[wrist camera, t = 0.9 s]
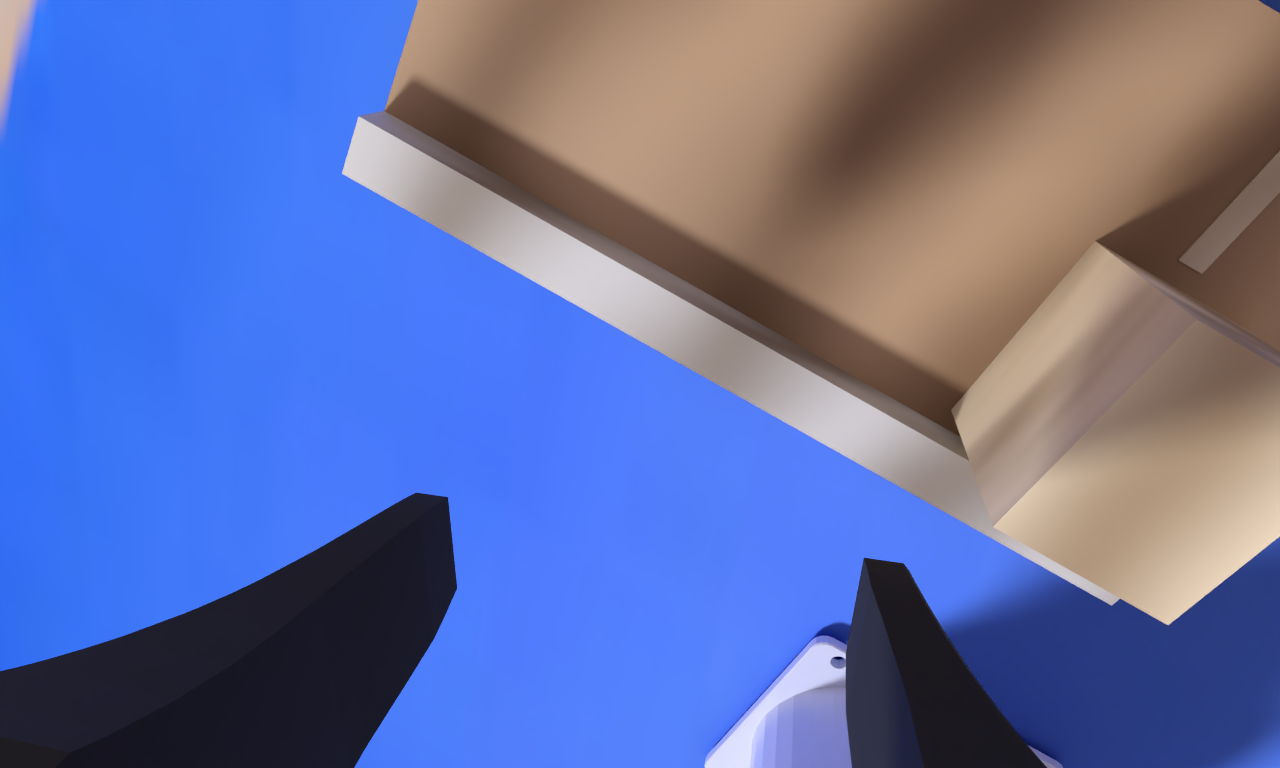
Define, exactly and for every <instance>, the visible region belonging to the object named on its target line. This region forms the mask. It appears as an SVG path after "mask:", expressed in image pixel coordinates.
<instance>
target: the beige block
mask: <svg viewBox="0 0 1280 768" xmlns="http://www.w3.org/2000/svg"><path fill="white" fill-rule="evenodd" d="M951 411H952V414H953V417H954V419H955V422H956V425H957V428H958V431H959V433H960V436H961V439H962V442H963V445H964V447H965V450H966V453H967V456H968V459H969V461H970V464H971V467H972V470H973V473H974V475H975V478H976V481H977V484H978V487H979V489H980V492H981V495H982V498H983V501H984V503H985V506H986V509H987V512H988V515H989V517H990V520H991V523H992V526H993V527H994V528H996V529H998V530H999V531H1001V532H1003V533H1005V534H1006V535H1008V536H1010V537H1012V538H1014V539H1015V540H1017V541H1019V542H1021V543H1022V544H1024V545H1026V546H1028V547H1030V548H1031V549H1033V550H1035V551H1037V552H1038V553H1040V554H1042V555H1044V556H1046V557H1047V558H1049V559H1051V560H1053V561H1054V562H1056V563H1058V564H1060V565H1062V566H1063V567H1065V568H1067V569H1069V570H1070V571H1072V572H1074V573H1076V574H1078V575H1079V576H1081V577H1083V578H1085V579H1086V580H1088V581H1090V582H1092V583H1094V584H1095V585H1097V586H1099V587H1101V588H1102V589H1104V590H1106V591H1108V592H1110V593H1111V594H1113V595H1115V596H1117V597H1118V598H1120V599H1122V600H1124V601H1126V602H1127V603H1129V604H1131V605H1133V606H1135V607H1136V608H1138V609H1140V610H1142V611H1143V612H1145V613H1147V614H1149V615H1151V616H1152V617H1154V618H1156V619H1158V620H1159V621H1161V622H1163V623H1165V624H1167V625H1169V624H1170V623H1172V622H1173V621H1174V620H1175V619H1177V618H1178V617H1179V616H1180V615H1182V614H1183V613H1184V612H1185V611H1187V610H1188V609H1189V608H1190V607H1192V606H1193V605H1194V604H1195V603H1197V602H1198V601H1199V600H1201V599H1202V598H1203V597H1204V596H1206V595H1207V594H1208V593H1209V592H1211V591H1212V590H1213V589H1214V588H1216V587H1217V586H1218V585H1219V584H1221V583H1222V582H1223V581H1224V580H1226V579H1227V578H1228V577H1229V576H1231V575H1232V574H1233V573H1234V572H1236V571H1237V570H1238V569H1239V568H1241V567H1242V566H1243V565H1244V564H1246V563H1247V562H1248V561H1249V560H1251V559H1252V558H1253V557H1254V556H1256V555H1257V554H1258V553H1260V552H1261V551H1262V550H1263V549H1265V548H1266V547H1267V546H1268V545H1270V544H1271V543H1272V542H1273V541H1275V540H1276V539H1277V538H1278V537H1280V352H1279V351H1278V350H1276V349H1275V348H1273V347H1272V346H1270V345H1269V344H1268V343H1266V342H1265V341H1263V340H1262V339H1261V338H1259V337H1258V336H1256V335H1255V334H1254V333H1252V332H1251V331H1249V330H1248V329H1246V328H1244V327H1243V326H1241V325H1239V324H1238V323H1236V322H1234V321H1232V320H1231V319H1229V318H1227V317H1225V316H1224V315H1222V314H1220V313H1219V312H1217V311H1215V310H1213V309H1212V308H1210V307H1208V306H1207V305H1205V304H1203V303H1201V302H1200V301H1198V300H1196V299H1194V298H1193V297H1191V296H1189V295H1188V294H1186V293H1184V292H1182V291H1181V290H1179V289H1177V288H1176V287H1174V286H1172V285H1170V284H1169V283H1167V282H1165V281H1163V280H1162V279H1160V278H1158V277H1157V276H1155V275H1153V274H1151V273H1150V272H1148V271H1146V270H1144V269H1143V268H1141V267H1139V266H1138V265H1136V264H1134V263H1132V262H1131V261H1129V260H1127V259H1126V258H1124V257H1122V256H1120V255H1119V254H1117V253H1115V252H1113V251H1112V250H1110V249H1108V248H1107V247H1105V246H1103V245H1101V244H1100V243H1098V242H1096V241H1095V242H1094V243H1093V244H1092V245H1091V247H1090V248H1089V249H1088V250H1087V251H1086V252H1085V254H1084V255H1083V256H1082V257H1081V258H1080V259H1079V261H1078V262H1077V263H1076V264H1075V265H1074V266H1073V268H1072V269H1071V270H1070V271H1069V272H1068V274H1067V275H1066V276H1065V277H1064V278H1063V279H1062V281H1061V282H1060V283H1059V284H1058V285H1057V286H1056V288H1055V289H1054V290H1053V291H1052V292H1051V293H1050V295H1049V296H1048V297H1047V298H1046V299H1045V300H1044V302H1043V303H1042V304H1041V305H1040V306H1039V308H1038V309H1037V310H1036V311H1035V312H1034V313H1033V315H1032V316H1031V317H1030V318H1029V319H1028V320H1027V322H1026V323H1025V324H1024V325H1023V326H1022V327H1021V329H1020V330H1019V331H1018V332H1017V333H1016V334H1015V336H1014V337H1013V338H1012V339H1011V340H1010V342H1009V343H1008V344H1007V345H1006V346H1005V347H1004V349H1003V350H1002V351H1001V352H1000V353H999V354H998V356H997V357H996V358H995V359H994V360H993V361H992V363H991V364H990V365H989V366H988V367H987V368H986V370H985V371H984V372H983V373H982V374H981V376H980V377H979V378H978V379H977V380H976V381H975V383H974V384H973V385H972V386H971V387H970V388H969V390H968V391H967V392H966V393H965V394H964V395H963V397H962V398H961V399H960V400H959V401H958V402H957V404H956V405H955V406H954V407H953V408H952V409H951Z"/></svg>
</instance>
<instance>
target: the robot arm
mask: <svg viewBox="0 0 1280 768" xmlns="http://www.w3.org/2000/svg"><path fill="white" fill-rule="evenodd" d="M456 589H457V583H456V573H455V563H454V553H453V544H452V534H451V524H450V514H449V504H448V497H442V496H435V495H428V494H421V493H415V494H413V495H411V496H409V497H407V498H405V499H403V500H401V501H400V502H398V503H396V504H394V505H393V506H391V507H389V508H387V509H386V510H384V511H382V512H380V513H379V514H377V515H375V516H374V517H372V518H370V519H369V520H367V521H365V522H364V523H362V524H360V525H358V526H357V527H355V528H353V529H352V530H350V531H348V532H346V533H345V534H343V535H341V536H340V537H338V538H336V539H334V540H333V541H331V542H329V543H327V544H326V545H324V546H322V547H321V548H319V549H317V550H315V551H313V552H312V553H310V554H308V555H306V556H304V557H302V558H300V559H298V560H297V561H295V562H293V563H291V564H289V565H287V566H285V567H283V568H281V569H280V570H278V571H276V572H274V573H272V574H270V575H268V576H266V577H264V578H263V579H261V580H259V581H257V582H254V583H252V584H250V585H248V586H246V587H244V588H242V589H240V590H238V591H236V592H233V593H231V594H229V595H227V596H225V597H222V598H220V599H218V600H215V601H213V602H211V603H208V604H206V605H204V606H202V607H199V608H197V609H194V610H192V611H190V612H187V613H185V614H182V615H179V616H177V617H174V618H171V619H168V620H166V621H163V622H160V623H158V624H155V625H152V626H150V627H147V628H144V629H141V630H139V631H136V632H133V633H131V634H128V635H125V636H122V637H119V638H116V639H113V640H110V641H107V642H104V643H101V644H98V645H94V646H91V647H88V648H85V649H82V650H78V651H75V652H71V653H68V654H65V655H61V656H58V657H54V658H51V659H47V660H44V661H40V662H36V663H32V664H29V665H25V666H21V667H17V668H13V669H8V670H4V671H0V768H354V767H355V765H356V763H357V762H358V760H359V758H360V757H361V755H362V753H363V751H364V750H365V748H366V746H367V745H368V743H369V741H370V740H371V738H372V737H373V735H374V733H375V732H376V730H377V729H378V727H379V726H380V724H381V722H382V721H383V719H384V718H385V716H386V715H387V713H388V711H389V710H390V708H391V707H392V705H393V703H394V702H395V700H396V699H397V697H398V696H399V694H400V692H401V691H402V689H403V688H404V686H405V685H406V683H407V681H408V680H409V678H410V677H411V675H412V673H413V672H414V670H415V669H416V667H417V665H418V664H419V662H420V660H421V659H422V657H423V656H424V654H425V652H426V651H427V649H428V648H429V646H430V644H431V643H432V641H433V639H434V637H435V635H436V633H437V631H438V629H439V627H440V625H441V623H442V621H443V619H444V616H445V614H446V612H447V610H448V607H449V605H450V603H451V600H452V598H453V596H454V594H455V591H456ZM837 656H840V657H843V659H840V660H837V659H834V658H833V657H837ZM705 768H1063V766H1062V765H1061V764H1060V763H1059V762H1058V761H1056V760H1054V759H1052V758H1050V757H1049V756H1047V755H1045V754H1043V753H1041V752H1040V751H1038V750H1036V749H1034V748H1032V747H1030V746H1029V745H1027V744H1026V743H1025V742H1024V740H1023V739H1022V738H1021V737H1020V735H1019V734H1018V733H1017V732H1016V731H1015V729H1014V728H1013V727H1012V726H1011V724H1010V723H1009V722H1008V721H1007V719H1006V718H1005V717H1004V716H1003V714H1002V713H1001V712H1000V710H999V709H998V708H997V706H996V705H995V704H994V702H993V701H992V700H991V698H990V697H989V696H988V694H987V693H986V692H985V690H984V689H983V688H982V686H981V685H980V684H979V682H978V681H977V679H976V678H975V677H974V675H973V674H972V672H971V671H970V669H969V668H968V666H967V665H966V663H965V662H964V660H963V659H962V657H961V656H960V655H959V653H958V652H957V650H956V649H955V647H954V646H953V644H952V643H951V641H950V640H949V638H948V636H947V635H946V633H945V632H944V630H943V629H942V627H941V625H940V624H939V622H938V620H937V619H936V617H935V615H934V614H933V612H932V611H931V609H930V607H929V606H928V604H927V602H926V600H925V599H924V597H923V595H922V593H921V592H920V590H919V588H918V586H917V584H916V583H915V581H914V579H913V577H912V575H911V574H910V572H909V570H908V569H907V568H906V566H905V565H904V564H903V563H896V562H889V561H882V560H875V559H868V558H864V561H863V566H862V571H861V576H860V581H859V587H858V592H857V597H856V602H855V608H854V613H853V618H852V623H851V628H850V634H849V639H848V644H847V645H845V644H844V643H842V642H840V641H838V640H836V639H835V638H832V637H830V636H818V637H815V638H814V639H813V640H811V642H810V643H809V644H808V645H807V646H806V647H805V648H804V649H803V650H802V651H801V653H800V654H799V655H798V656H797V657H796V658H795V659H794V660H793V661H792V662H791V663H790V665H789V666H788V667H787V668H786V669H785V670H784V671H783V672H782V673H781V674H780V676H779V677H778V678H777V679H776V680H775V681H774V682H773V683H772V684H771V685H770V687H769V688H768V689H767V690H766V691H765V692H764V693H763V694H762V695H761V696H760V697H759V699H758V700H757V701H756V702H755V703H754V704H753V705H752V706H751V707H750V708H749V710H748V711H747V712H746V713H745V714H744V715H743V716H742V717H741V718H740V719H739V721H738V722H737V723H736V724H735V725H734V726H733V727H732V728H731V729H730V730H729V732H728V733H727V734H726V735H725V736H724V737H723V738H722V739H721V740H720V741H719V742H718V744H717V745H716V746H715V747H714V748H713V749H712V750H711V751H710V752H709V753H708V755H707V756H706V760H705Z"/></svg>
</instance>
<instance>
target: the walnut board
mask: <svg viewBox="0 0 1280 768" xmlns="http://www.w3.org/2000/svg"><path fill="white" fill-rule="evenodd" d="M342 174H344V175H345V176H347V177H349V178H351V179H353V180H354V181H356V182H358V183H360V184H361V185H363V186H365V187H367V188H369V189H370V190H372V191H374V192H376V193H377V194H379V195H381V196H383V197H385V198H386V199H388V200H390V201H392V202H393V203H395V204H397V205H399V206H401V207H402V208H404V209H406V210H408V211H410V212H411V213H413V214H415V215H417V216H418V217H420V218H422V219H424V220H426V221H427V222H429V223H431V224H433V225H434V226H436V227H438V228H440V229H442V230H443V231H445V232H447V233H449V234H450V235H452V236H454V237H456V238H458V239H459V240H461V241H463V242H465V243H467V244H468V245H470V246H472V247H474V248H475V249H477V250H479V251H481V252H483V253H484V254H486V255H488V256H490V257H491V258H493V259H495V260H497V261H499V262H500V263H502V264H504V265H506V266H507V267H509V268H511V269H513V270H515V271H516V272H518V273H520V274H522V275H524V276H525V277H527V278H529V279H531V280H532V281H534V282H536V283H538V284H540V285H541V286H543V287H545V288H547V289H548V290H550V291H552V292H554V293H556V294H557V295H559V296H561V297H563V298H564V299H566V300H568V301H570V302H572V303H573V304H575V305H577V306H579V307H581V308H582V309H584V310H586V311H588V312H589V313H591V314H593V315H595V316H597V317H598V318H600V319H602V320H604V321H605V322H607V323H609V324H611V325H613V326H614V327H616V328H618V329H620V330H621V331H623V332H625V333H627V334H629V335H630V336H632V337H634V338H636V339H638V340H639V341H641V342H643V343H645V344H646V345H648V346H650V347H652V348H654V349H655V350H657V351H659V352H661V353H662V354H664V355H666V356H668V357H670V358H671V359H673V360H675V361H677V362H678V363H680V364H682V365H684V366H686V367H687V368H689V369H691V370H693V371H695V372H696V373H698V374H700V375H702V376H703V377H705V378H707V379H709V380H711V381H712V382H714V383H716V384H718V385H719V386H721V387H723V388H725V389H727V390H728V391H730V392H732V393H734V394H735V395H737V396H739V397H741V398H743V399H744V400H746V401H748V402H750V403H752V404H753V405H755V406H757V407H759V408H760V409H762V410H764V411H766V412H768V413H769V414H771V415H773V416H775V417H776V418H778V419H780V420H782V421H784V422H785V423H787V424H789V425H791V426H792V427H794V428H796V429H798V430H800V431H801V432H803V433H805V434H807V435H809V436H810V437H812V438H814V439H816V440H817V441H819V442H821V443H823V444H825V445H826V446H828V447H830V448H832V449H833V450H835V451H837V452H839V453H841V454H842V455H844V456H846V457H848V458H849V459H851V460H853V461H855V462H857V463H858V464H860V465H862V466H864V467H866V468H867V469H869V470H871V471H873V472H874V473H876V474H878V475H880V476H882V477H883V478H885V479H887V480H889V481H890V482H892V483H894V484H896V485H898V486H899V487H901V488H903V489H905V490H906V491H908V492H910V493H912V494H914V495H915V496H917V497H919V498H921V499H923V500H924V501H926V502H928V503H930V504H931V505H933V506H935V507H937V508H939V509H940V510H942V511H944V512H946V513H947V514H949V515H951V516H953V517H955V518H956V519H958V520H960V521H962V522H963V523H965V524H967V525H969V526H971V527H972V528H974V529H976V530H978V531H980V532H981V533H983V534H985V535H987V536H988V537H990V538H992V539H994V540H996V541H997V542H999V543H1001V544H1003V545H1004V546H1006V547H1008V548H1010V549H1012V550H1013V551H1015V552H1017V553H1019V554H1020V555H1022V556H1024V557H1026V558H1028V559H1029V560H1031V561H1033V562H1035V563H1037V564H1038V565H1040V566H1042V567H1044V568H1045V569H1047V570H1049V571H1051V572H1053V573H1054V574H1056V575H1058V576H1060V577H1061V578H1063V579H1065V580H1067V581H1069V582H1070V583H1072V584H1074V585H1076V586H1077V587H1079V588H1081V589H1083V590H1085V591H1086V592H1088V593H1090V594H1092V595H1094V596H1095V597H1097V598H1099V599H1101V600H1102V601H1104V602H1106V603H1108V604H1110V605H1111V606H1112V605H1113V604H1114V603H1116V602H1117V601H1118V600H1119V599H1120V598H1118V597H1117V596H1115V595H1113V594H1111V593H1110V592H1108V591H1106V590H1104V589H1102V588H1101V587H1099V586H1097V585H1095V584H1094V583H1092V582H1090V581H1088V580H1086V579H1085V578H1083V577H1081V576H1079V575H1078V574H1076V573H1074V572H1072V571H1070V570H1069V569H1067V568H1065V567H1063V566H1062V565H1060V564H1058V563H1056V562H1054V561H1053V560H1051V559H1049V558H1047V557H1046V556H1044V555H1042V554H1040V553H1038V552H1037V551H1035V550H1033V549H1031V548H1030V547H1028V546H1026V545H1024V544H1022V543H1021V542H1019V541H1017V540H1015V539H1014V538H1012V537H1010V536H1008V535H1006V534H1005V533H1003V532H1001V531H999V530H998V529H996V528H994V527H993V526H992V523H991V520H990V517H989V515H988V512H987V509H986V506H985V503H984V501H983V498H982V495H981V492H980V489H979V487H978V484H977V481H976V478H975V475H974V473H973V470H972V467H971V464H970V461H969V459H968V456H967V453H966V450H965V447H964V445H963V442H962V439H961V436H960V433H959V431H958V428H957V425H956V422H955V419H954V417H953V414H952V411H951V409H952V408H953V407H954V406H955V405H956V404H957V402H958V401H959V400H960V399H961V398H962V397H963V395H964V394H965V393H966V392H967V391H968V390H969V388H970V387H971V386H972V385H973V384H974V383H975V381H976V380H977V379H978V378H979V377H980V376H981V374H982V373H983V372H984V371H985V370H986V368H987V367H988V366H989V365H990V364H991V363H992V361H993V360H994V359H995V358H996V357H997V356H998V354H999V353H1000V352H1001V351H1002V350H1003V349H1004V347H1005V346H1006V345H1007V344H1008V343H1009V342H1010V340H1011V339H1012V338H1013V337H1014V336H1015V334H1016V333H1017V332H1018V331H1019V330H1020V329H1021V327H1022V326H1023V325H1024V324H1025V323H1026V322H1027V320H1028V319H1029V318H1030V317H1031V316H1032V315H1033V313H1034V312H1035V311H1036V310H1037V309H1038V308H1039V306H1040V305H1041V304H1042V303H1043V302H1044V300H1045V299H1046V298H1047V297H1048V296H1049V295H1050V293H1051V292H1052V291H1053V290H1054V289H1055V288H1056V286H1057V285H1058V284H1059V283H1060V282H1061V281H1062V279H1063V278H1064V277H1065V276H1066V275H1067V274H1068V272H1069V271H1070V270H1071V269H1072V268H1073V266H1074V265H1075V264H1076V263H1077V262H1078V261H1079V259H1080V258H1081V257H1082V256H1083V255H1084V254H1085V252H1086V251H1087V250H1088V249H1089V248H1090V247H1091V245H1092V244H1093V243H1094V242H1095V241H1096V242H1098V243H1100V244H1101V245H1103V246H1105V247H1107V248H1108V249H1110V250H1112V251H1113V252H1115V253H1117V254H1119V255H1120V256H1122V257H1124V258H1126V259H1127V260H1129V261H1131V262H1132V263H1134V264H1136V265H1138V266H1139V267H1141V268H1143V269H1144V270H1146V271H1148V272H1150V273H1151V274H1153V275H1155V276H1157V277H1158V278H1160V279H1162V280H1163V281H1165V282H1167V283H1169V284H1170V285H1172V286H1174V287H1176V288H1177V289H1179V290H1181V291H1182V292H1184V293H1186V294H1188V295H1189V296H1191V297H1193V298H1194V299H1196V300H1198V301H1200V302H1201V303H1203V304H1205V305H1207V306H1208V307H1210V308H1212V309H1213V310H1215V311H1217V312H1219V313H1220V314H1222V315H1224V316H1225V317H1227V318H1229V319H1231V320H1232V321H1234V322H1236V323H1238V324H1239V325H1241V326H1243V327H1244V328H1246V329H1248V330H1249V331H1251V332H1252V333H1254V334H1255V335H1256V336H1258V337H1259V338H1261V339H1262V340H1263V341H1265V342H1266V343H1268V344H1269V345H1270V346H1272V347H1273V348H1275V349H1276V350H1278V351H1279V352H1280V13H1279V12H1277V11H1275V10H1273V9H1272V8H1270V7H1268V6H1267V5H1265V4H1263V3H1262V2H1260V1H1258V0H418V4H417V7H416V10H415V13H414V17H413V20H412V23H411V26H410V30H409V33H408V36H407V39H406V42H405V46H404V49H403V52H402V55H401V59H400V62H399V65H398V68H397V72H396V75H395V78H394V81H393V85H392V88H391V91H390V94H389V98H388V101H387V104H386V107H385V111H382V112H377V113H372V114H367V115H362V116H359V117H358V120H357V124H356V127H355V131H354V134H353V138H352V141H351V144H350V148H349V151H348V155H347V158H346V161H345V165H344V168H343V172H342Z"/></svg>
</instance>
